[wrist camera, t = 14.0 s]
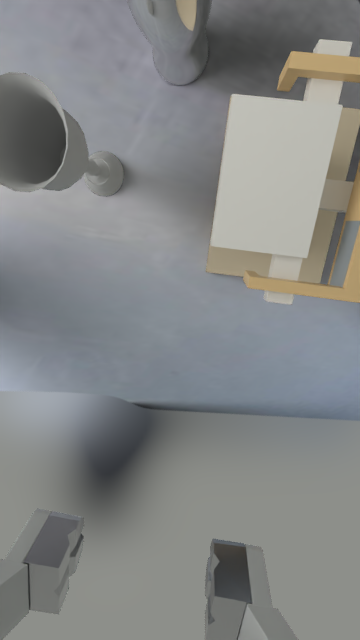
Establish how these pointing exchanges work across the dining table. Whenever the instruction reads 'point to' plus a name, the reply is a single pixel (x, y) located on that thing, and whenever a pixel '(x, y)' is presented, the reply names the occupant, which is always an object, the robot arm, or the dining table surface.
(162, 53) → the beer glass
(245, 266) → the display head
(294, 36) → the dining table surface
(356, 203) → the tan open angular frame
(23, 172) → the chalice
